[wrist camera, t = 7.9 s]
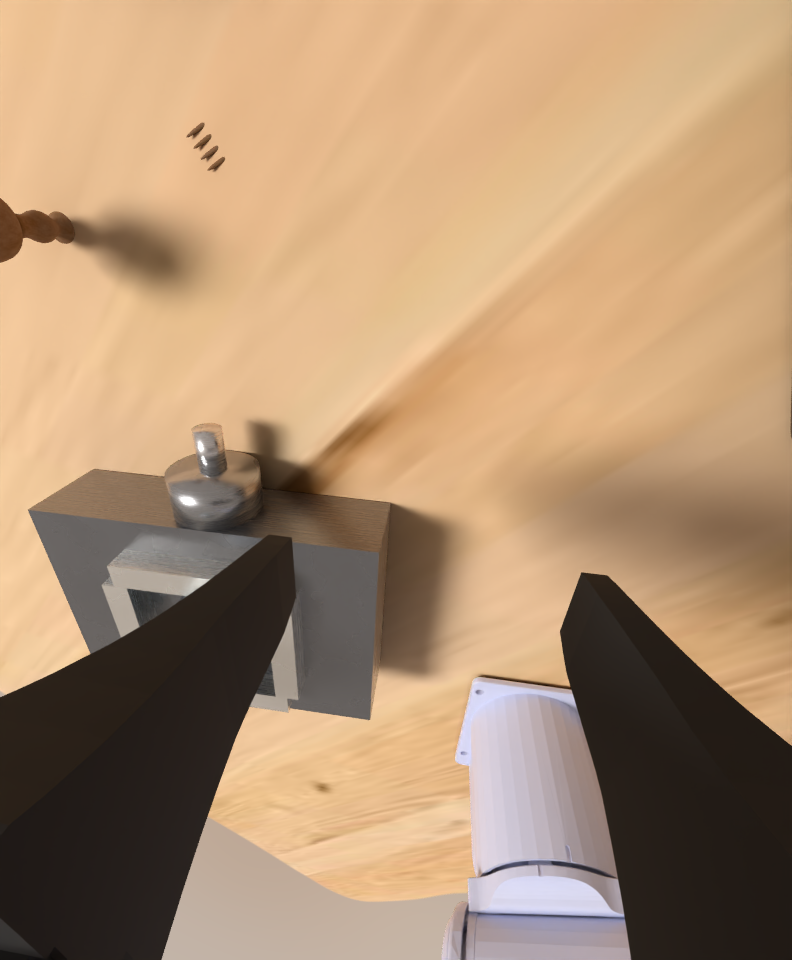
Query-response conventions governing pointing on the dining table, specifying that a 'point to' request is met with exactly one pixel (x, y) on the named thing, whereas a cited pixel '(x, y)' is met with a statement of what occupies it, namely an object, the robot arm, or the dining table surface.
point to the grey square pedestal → (227, 564)
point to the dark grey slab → (791, 415)
